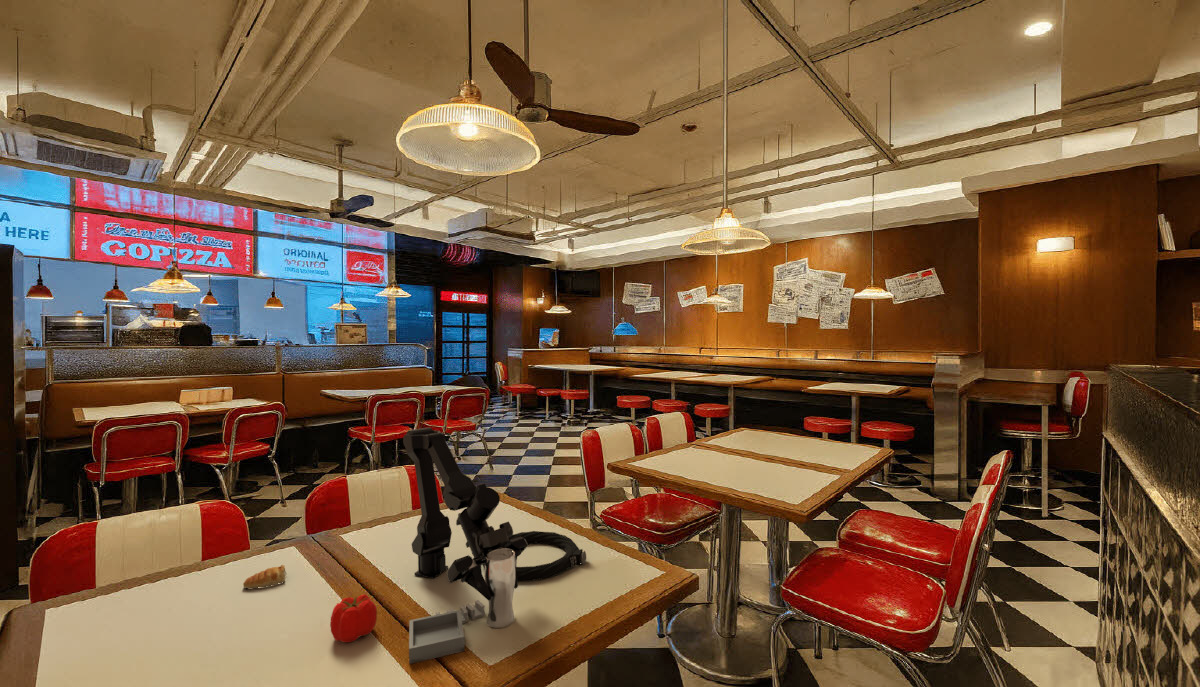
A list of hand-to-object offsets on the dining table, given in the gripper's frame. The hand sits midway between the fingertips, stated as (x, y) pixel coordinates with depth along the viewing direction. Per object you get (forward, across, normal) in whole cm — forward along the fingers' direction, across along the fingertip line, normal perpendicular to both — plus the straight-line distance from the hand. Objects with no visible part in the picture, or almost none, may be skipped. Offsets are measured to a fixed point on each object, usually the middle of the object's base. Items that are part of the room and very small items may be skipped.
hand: (503, 593), depth 109 cm
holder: (+2, -14, +8) cm, 16 cm away
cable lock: (-9, +24, +20) cm, 32 cm away
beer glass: (+4, 0, +6) cm, 7 cm away
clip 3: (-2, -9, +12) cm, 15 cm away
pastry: (-38, -33, +48) cm, 70 cm away
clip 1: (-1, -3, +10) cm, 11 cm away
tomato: (-9, -25, +19) cm, 33 cm away
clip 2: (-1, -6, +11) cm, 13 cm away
